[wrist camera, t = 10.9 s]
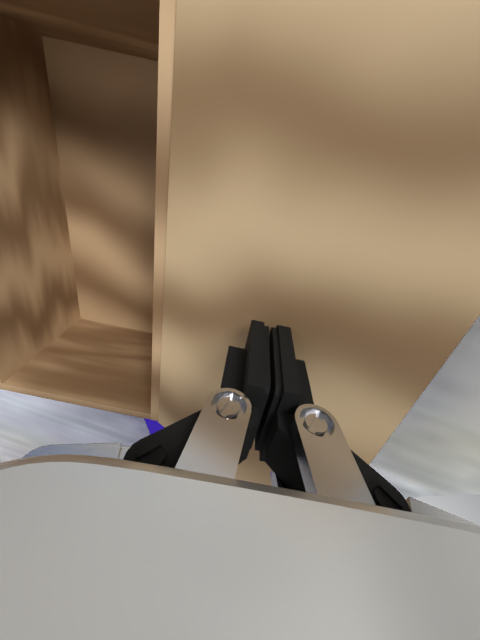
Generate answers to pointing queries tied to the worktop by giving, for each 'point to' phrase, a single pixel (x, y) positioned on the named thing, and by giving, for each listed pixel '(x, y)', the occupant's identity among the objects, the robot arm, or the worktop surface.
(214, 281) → the lid flap
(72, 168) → the open wooden box
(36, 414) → the worktop surface
